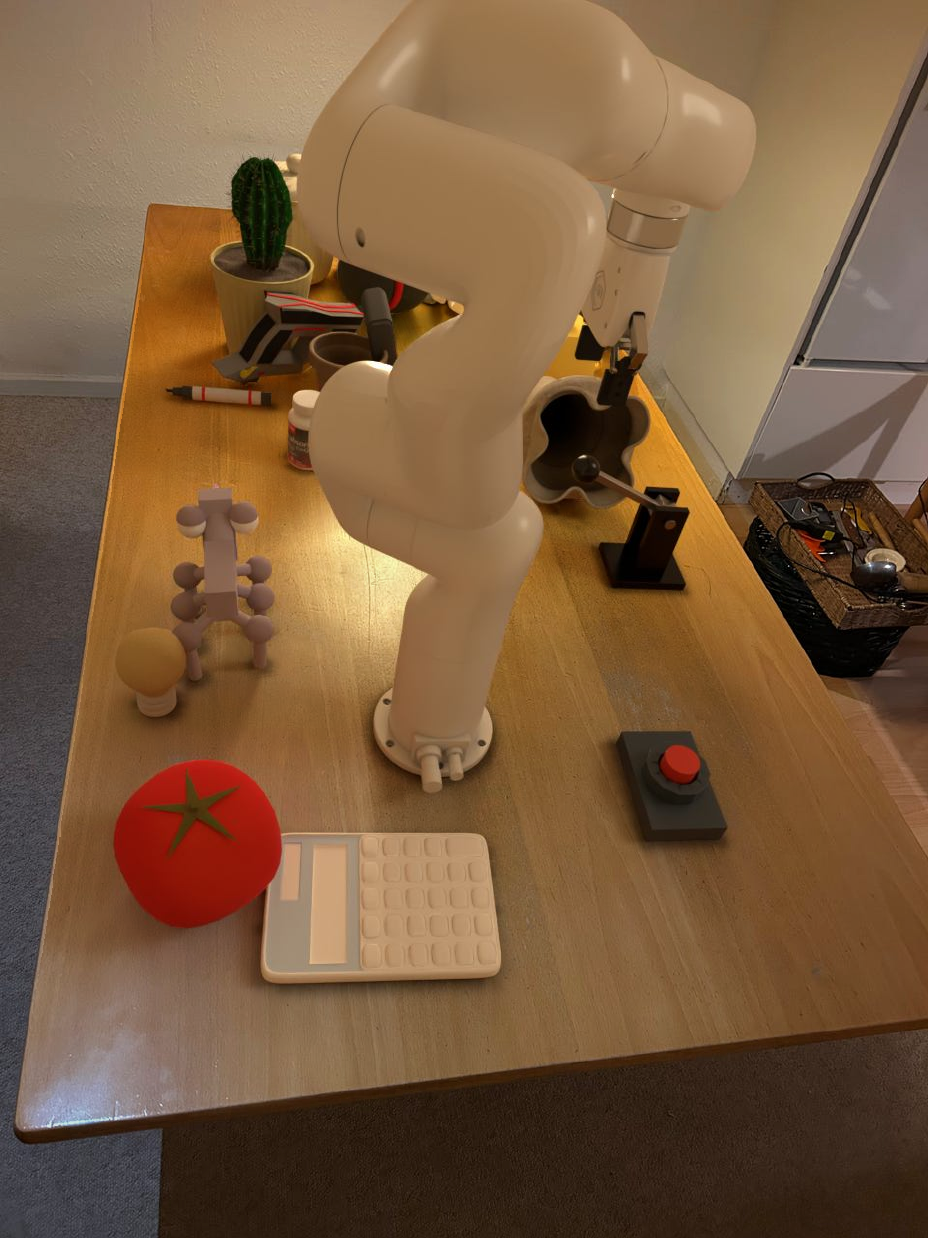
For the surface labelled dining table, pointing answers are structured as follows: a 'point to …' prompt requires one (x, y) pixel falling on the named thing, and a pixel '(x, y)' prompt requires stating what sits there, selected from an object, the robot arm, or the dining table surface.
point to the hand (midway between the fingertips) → (598, 381)
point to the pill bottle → (300, 428)
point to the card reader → (379, 324)
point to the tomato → (197, 843)
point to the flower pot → (338, 353)
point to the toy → (360, 279)
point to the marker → (222, 395)
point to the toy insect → (220, 576)
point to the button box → (668, 789)
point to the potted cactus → (257, 251)
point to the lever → (613, 482)
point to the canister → (298, 232)
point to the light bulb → (151, 668)
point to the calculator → (380, 909)
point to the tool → (286, 336)
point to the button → (680, 764)
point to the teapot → (571, 357)
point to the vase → (578, 439)
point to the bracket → (648, 547)
